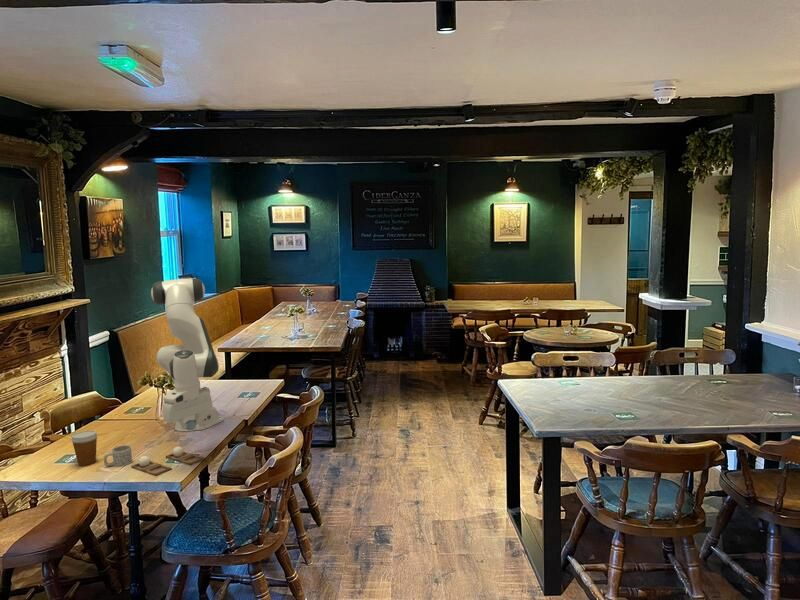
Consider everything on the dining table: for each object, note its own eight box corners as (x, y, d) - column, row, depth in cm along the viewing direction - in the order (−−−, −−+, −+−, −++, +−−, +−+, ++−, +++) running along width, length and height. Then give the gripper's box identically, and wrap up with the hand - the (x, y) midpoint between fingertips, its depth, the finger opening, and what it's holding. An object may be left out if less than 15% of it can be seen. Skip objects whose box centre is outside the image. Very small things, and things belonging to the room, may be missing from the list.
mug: (130, 459, 240) (128, 444, 239) (134, 464, 234) (132, 448, 233) (103, 466, 234) (101, 450, 233) (106, 471, 228) (104, 455, 228)
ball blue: (191, 427, 236) (190, 417, 236) (198, 429, 234) (197, 419, 233) (183, 430, 233) (182, 420, 232) (189, 432, 231) (188, 422, 230)
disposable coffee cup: (70, 463, 238) (67, 434, 236) (95, 456, 244) (93, 428, 243) (77, 469, 231) (74, 440, 230) (103, 462, 238) (100, 433, 236)
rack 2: (165, 459, 239) (165, 456, 239) (180, 453, 245) (180, 450, 244) (190, 467, 230) (190, 463, 230) (205, 460, 236) (205, 457, 235)
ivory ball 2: (179, 453, 242) (178, 444, 242) (185, 455, 240) (185, 446, 240) (171, 457, 239) (170, 447, 239) (177, 459, 237) (176, 449, 236)
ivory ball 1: (146, 463, 233) (145, 453, 233) (152, 465, 231) (151, 455, 231) (137, 467, 230) (136, 457, 230) (143, 469, 228) (142, 459, 227)
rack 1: (131, 469, 230) (131, 465, 230) (147, 462, 236) (147, 459, 235) (155, 477, 221) (155, 474, 221) (172, 471, 227) (172, 467, 226)
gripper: (204, 384, 242) (206, 417, 244) (159, 398, 225) (162, 433, 227) (214, 386, 238) (216, 419, 240) (169, 400, 221) (173, 436, 223)
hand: (190, 426), depth 233 cm, fingers closed on ball blue, 4 cm apart
